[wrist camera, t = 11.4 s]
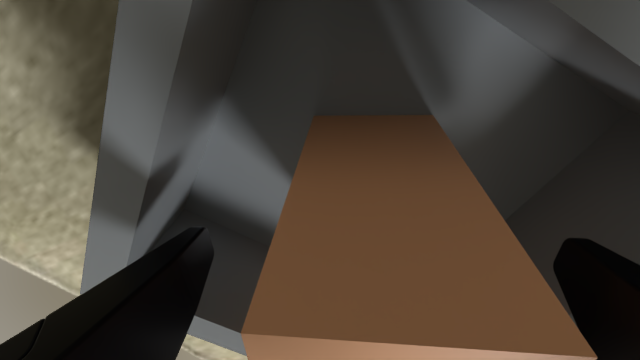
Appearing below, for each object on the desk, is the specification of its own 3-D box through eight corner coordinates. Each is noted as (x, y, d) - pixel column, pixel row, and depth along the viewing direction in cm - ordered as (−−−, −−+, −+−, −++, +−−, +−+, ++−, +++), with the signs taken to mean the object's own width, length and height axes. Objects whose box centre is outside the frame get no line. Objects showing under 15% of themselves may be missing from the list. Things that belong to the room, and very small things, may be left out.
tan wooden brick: (432, 114, 10) (598, 358, 3) (417, 211, 12) (500, 484, 5) (313, 115, 11) (240, 333, 4) (318, 209, 13) (277, 460, 6)
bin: (672, 88, 10) (920, 159, 6) (408, 314, 17) (427, 423, 12) (279, -193, 7) (178, -452, 3) (161, 205, 14) (80, 293, 10)
